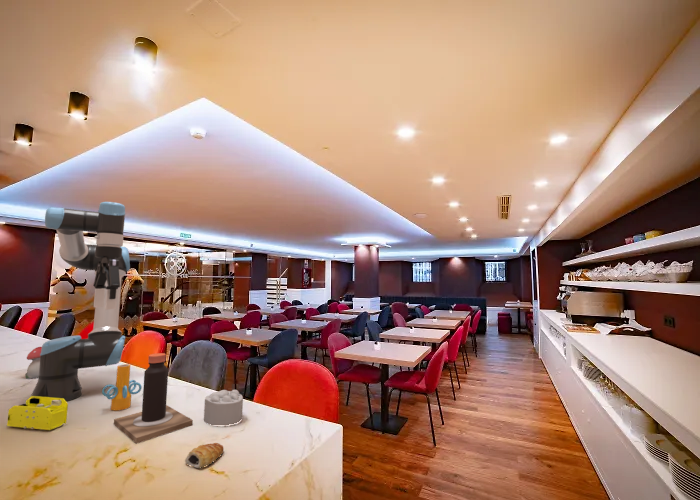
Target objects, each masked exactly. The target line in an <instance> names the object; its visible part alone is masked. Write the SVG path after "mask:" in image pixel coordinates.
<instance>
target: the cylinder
mask: <svg viewBox="0 0 700 500" xmlns="http://www.w3.org/2000/svg"><path fill="white" fill-rule="evenodd" d="M130 376H131V364H130V363H126V364H119V365H117V367H116V377H115V378H116V380H115V385H114V384H107V385H105V386H104V387H103V388H102V391H101V394H102V396H104V397H106V398H107V399H108V400H111V402H110V410H111V411H123V410H127V409H129V408H130V407H131V404H132V395H136V394H138V393H140V392H141V391H142V384H141V383H140V382H137V381H136V380H134V379H130V378H131V377H130ZM132 386H133V387H132ZM137 386H138V389H137V391H134V390H135V389H136V388H137ZM131 387H132V388H131ZM107 388H108V389H107ZM106 389H107V391H106ZM112 390H113V391H112ZM105 391H106V392H105ZM111 391H112V392H111Z"/></svg>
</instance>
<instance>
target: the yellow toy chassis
mask: <svg viewBox="0 0 700 500" xmlns="http://www.w3.org/2000/svg"><path fill="white" fill-rule="evenodd" d="M68 406H69V403H68V401H65V400H64V398H52V397H39V396H31V395H30V397H29V398H28V399H26V400H25V403H23V404H19V405H13V406H12V407H10V408H9V409H8V413H7V421H6V422H7V423H6V427H14V428H23V429H24V430H25V429H31V430H34V429H36V430H47V431H51V430H54V429H56V428H59V427H62V425H63V424H67V420H68V419H67V417H68V409H69V408H68Z"/></svg>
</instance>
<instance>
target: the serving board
mask: <svg viewBox="0 0 700 500" xmlns="http://www.w3.org/2000/svg"><path fill="white" fill-rule="evenodd" d="M193 421H194V420H193V419H192V418H190V417H188V416H186V415H184V414H183V413H181V412H180V411H178V410H176V409H174V408H172V407H171V406H169V405H167V404H166V415H165V417H164V418H162V419H160V420H157V421H153V422H144V421H142V411H139V412H135V413H132V414H128V415H124V416H120V417H117V418H116V417H115V418H113V425H114V426H115V427H117V428H118V430H120V431H121V432H122V433H124V435H126V436H127V437H128V438H129V439H130V440H131V441H133V442H134V443H135V444H139V443H142V442H145V441H148V440H151V439H153V438H157V437H160V436H163V435H167V434H169V433H172V432H176V431H178V430H181V429H185V428H187V427H190V426H193V424H194V423H193Z"/></svg>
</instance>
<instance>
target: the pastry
mask: <svg viewBox="0 0 700 500" xmlns="http://www.w3.org/2000/svg"><path fill="white" fill-rule="evenodd" d="M222 453H224V446H223V445H222V444H221V443H218V442H213V443H207V444H201V445H198V446H197V447H194V448H192V450H191V451H189V452H188V454H187V456H186V457H185V459H184V461H185V464H186V465H187V464H188V465H191V466H194V467H193V468H196V469H201V468H200V467H204V466H206V465H209V464H210V465H211V464H213V463H212V462H213V461H215V460H216V459H217V458H218V457H219V456H220V455H221V454H222ZM222 455H223V454H222ZM222 455H221V456H222ZM218 459H219V458H218ZM218 459H217V460H218ZM217 460H216V461H217ZM216 461H215V462H216ZM188 465H187V466H188ZM210 465H209V466H210Z"/></svg>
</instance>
